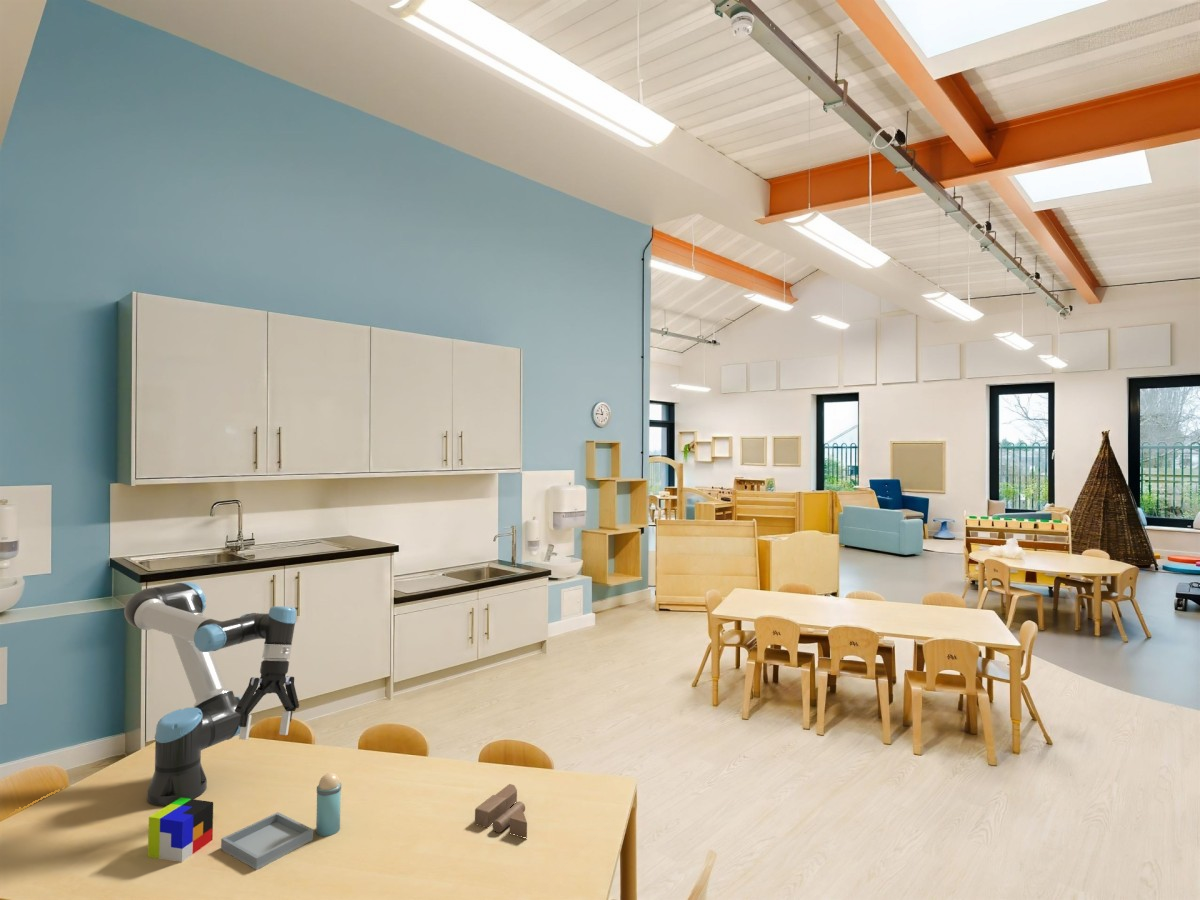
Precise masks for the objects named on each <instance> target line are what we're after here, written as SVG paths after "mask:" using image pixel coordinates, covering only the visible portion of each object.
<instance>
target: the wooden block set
mask: <svg viewBox="0 0 1200 900" xmlns="http://www.w3.org/2000/svg"><path fill="white" fill-rule="evenodd" d="M515 802H516V803H515ZM514 803H515V804H514ZM513 804H514V805H513ZM512 805H513V806H512ZM511 806H512V807H511ZM510 807H511V808H510ZM525 811H526V805H525V804H524V802H523V801H518V789H517V787H516V785H515V784H512V783H509V784H507V785H506V786H505V787H504V788H502V789H501V790H499V792H497V793H496V794H493V795H491V796H490V797H488V798H487V799H485V801H484V802H482V803H481V804H480V805H478V806H477V807H476V808H475V809H474V824H475V825H476V824H478V825H477V826H479V825H481V826H480V827H483V826H485V827H484V828H486V827H489V826H490V825H491V824H492V823H493V824H492V825H491V826H492V830H493V832H495V831H496V832H495V833H497V832H499V834H500V833H502V832H503V831H504V830H505V829H506V828H508V827H509V833H511V834H515V835H518V836H522V837H526V838H527V839H528V822H527V819H526V816H525ZM491 826H490V827H491ZM490 827H489V828H490Z"/></svg>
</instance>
